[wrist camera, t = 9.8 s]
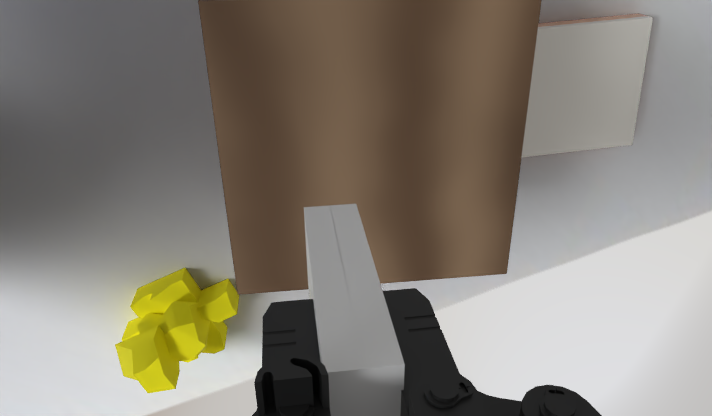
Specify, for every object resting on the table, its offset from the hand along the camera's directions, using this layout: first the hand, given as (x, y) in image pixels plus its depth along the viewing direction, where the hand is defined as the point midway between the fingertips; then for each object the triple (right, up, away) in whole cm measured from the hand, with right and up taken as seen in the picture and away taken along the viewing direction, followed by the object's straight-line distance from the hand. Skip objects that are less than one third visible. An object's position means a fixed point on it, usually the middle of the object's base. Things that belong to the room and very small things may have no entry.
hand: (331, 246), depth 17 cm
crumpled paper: (-12, -6, +24) cm, 28 cm away
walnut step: (0, +8, +18) cm, 20 cm away
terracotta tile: (+14, +8, +18) cm, 25 cm away
